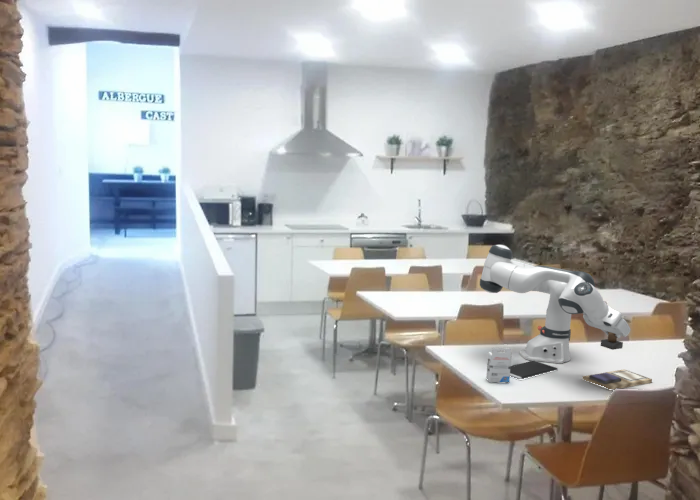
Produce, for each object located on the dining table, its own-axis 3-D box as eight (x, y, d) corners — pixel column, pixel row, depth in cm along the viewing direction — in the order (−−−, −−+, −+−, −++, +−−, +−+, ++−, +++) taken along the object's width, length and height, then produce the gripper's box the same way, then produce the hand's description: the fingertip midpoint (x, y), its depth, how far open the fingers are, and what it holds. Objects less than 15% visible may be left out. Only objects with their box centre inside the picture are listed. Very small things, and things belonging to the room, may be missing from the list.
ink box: (505, 379, 288) (508, 344, 286) (509, 383, 283) (512, 348, 281) (485, 378, 287) (488, 344, 285) (489, 382, 282) (492, 347, 280)
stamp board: (609, 390, 280) (610, 383, 280) (582, 379, 293) (583, 372, 292) (651, 382, 293) (652, 375, 293) (624, 372, 305) (624, 365, 305)
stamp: (612, 349, 283) (614, 328, 282) (600, 345, 288) (602, 324, 287) (622, 348, 286) (624, 327, 285) (610, 344, 291) (612, 323, 290)
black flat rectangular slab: (558, 371, 304) (558, 367, 304) (520, 381, 287) (520, 377, 287) (533, 363, 314) (533, 359, 314) (494, 372, 297) (495, 368, 297)
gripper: (575, 313, 289) (589, 334, 295) (615, 325, 271) (629, 347, 277) (584, 302, 290) (598, 323, 297) (624, 313, 273) (638, 335, 279)
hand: (613, 335), depth 287 cm, fingers closed on stamp, 3 cm apart
